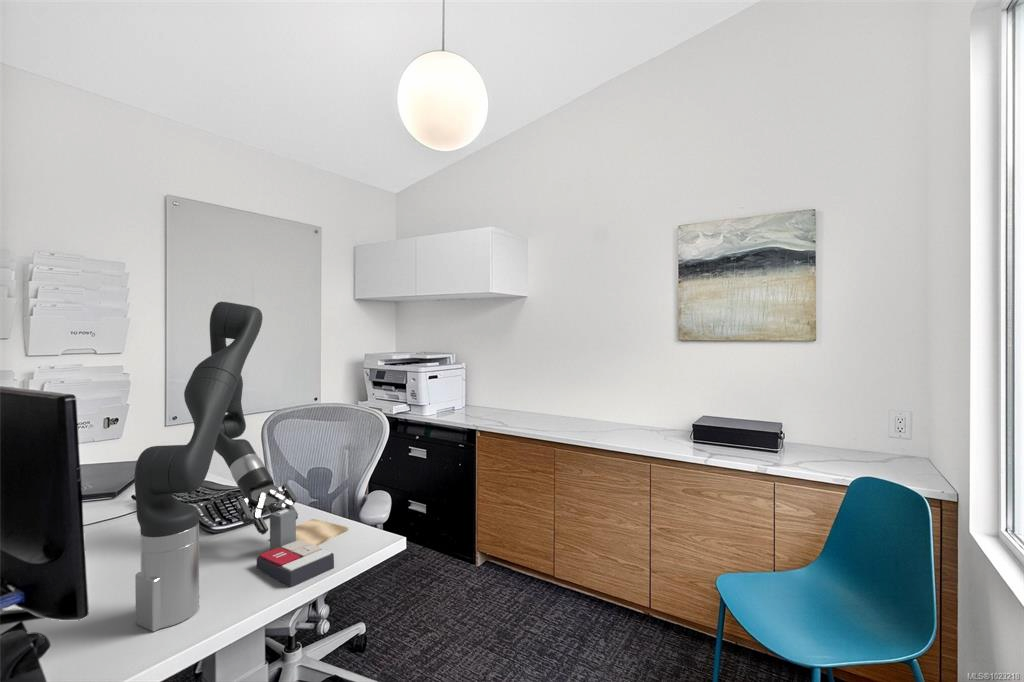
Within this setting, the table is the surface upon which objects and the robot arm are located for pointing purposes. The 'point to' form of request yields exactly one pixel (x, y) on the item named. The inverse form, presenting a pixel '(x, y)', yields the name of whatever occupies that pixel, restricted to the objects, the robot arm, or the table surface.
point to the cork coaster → (318, 531)
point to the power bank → (282, 528)
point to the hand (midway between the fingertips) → (280, 526)
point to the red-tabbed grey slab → (295, 562)
